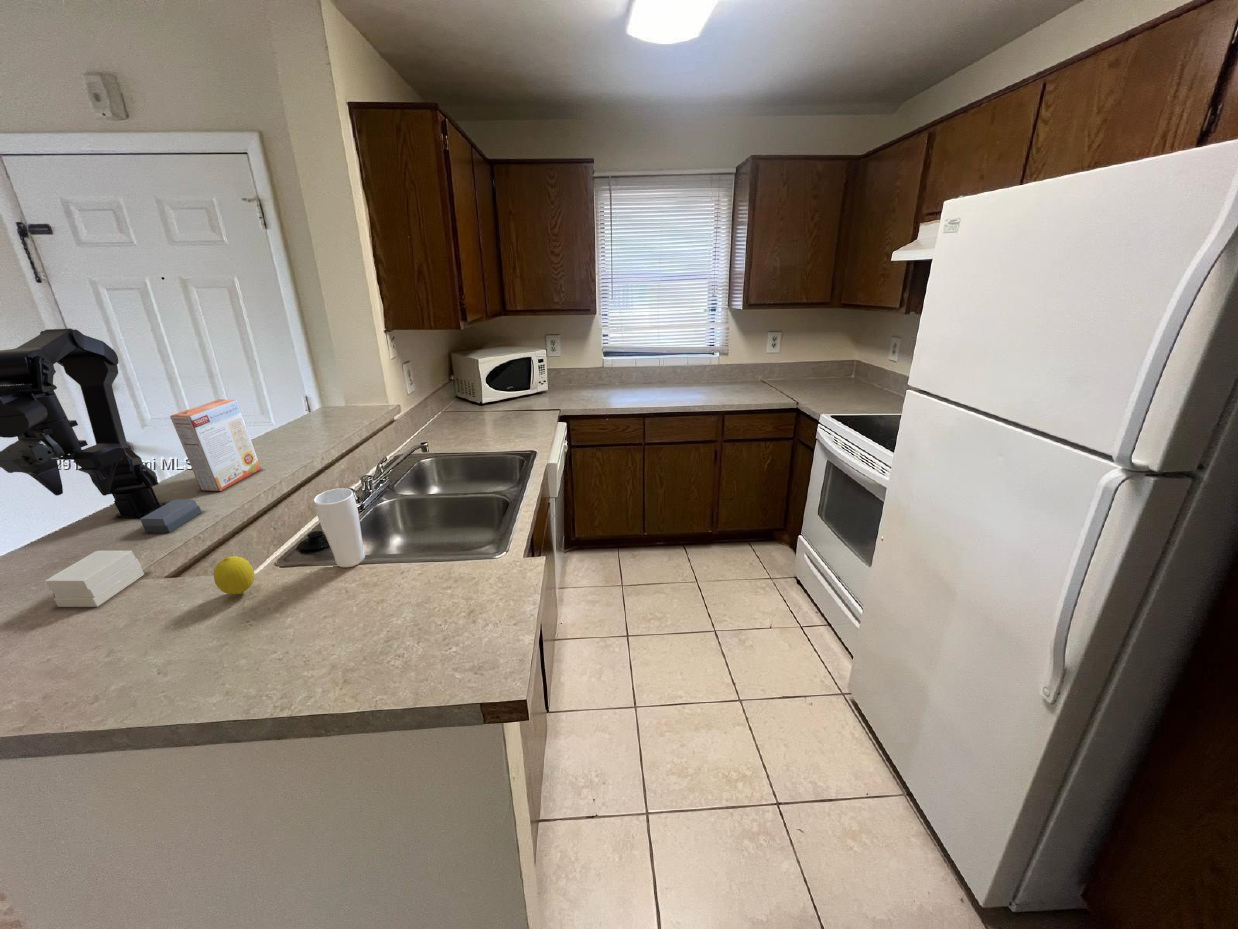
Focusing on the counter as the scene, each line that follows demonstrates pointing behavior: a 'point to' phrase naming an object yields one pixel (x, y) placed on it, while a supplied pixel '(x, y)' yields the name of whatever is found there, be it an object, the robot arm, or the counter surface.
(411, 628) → the counter surface
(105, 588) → the ivory books
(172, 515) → the grey books
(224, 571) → the lemon
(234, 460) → the cracker box
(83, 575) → the ivory book
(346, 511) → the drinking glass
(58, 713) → the counter surface
